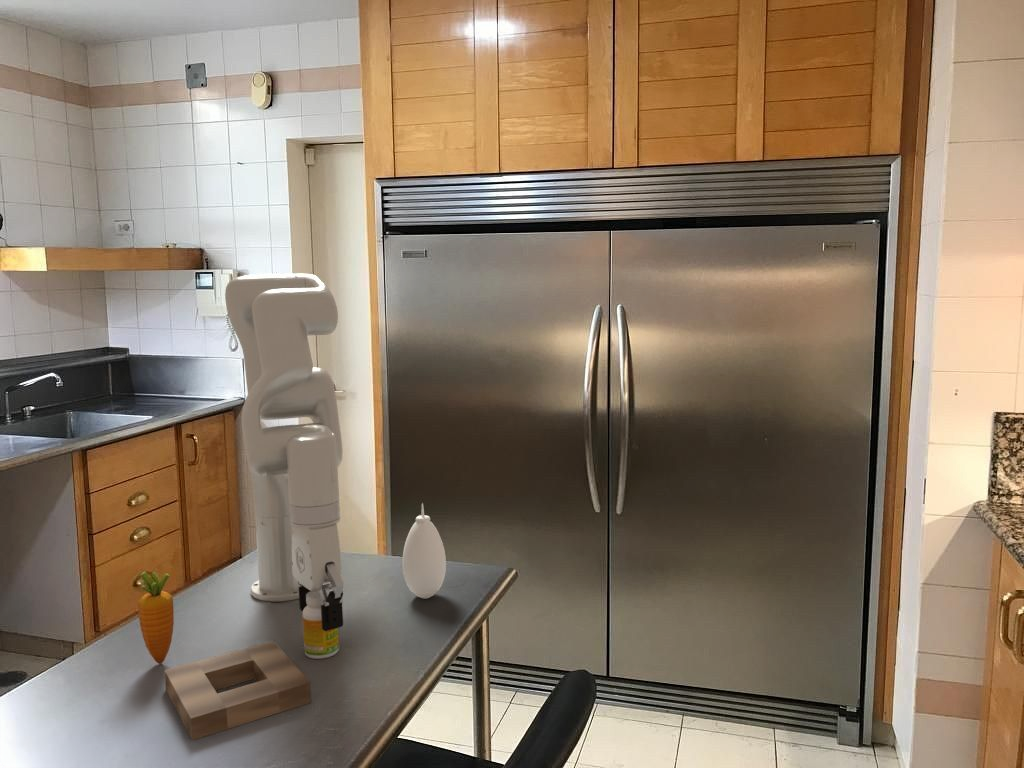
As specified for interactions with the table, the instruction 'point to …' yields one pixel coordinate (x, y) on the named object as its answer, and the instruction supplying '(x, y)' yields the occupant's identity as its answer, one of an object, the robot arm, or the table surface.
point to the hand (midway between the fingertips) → (321, 618)
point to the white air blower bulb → (424, 558)
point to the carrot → (156, 616)
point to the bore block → (218, 712)
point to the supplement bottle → (317, 629)
